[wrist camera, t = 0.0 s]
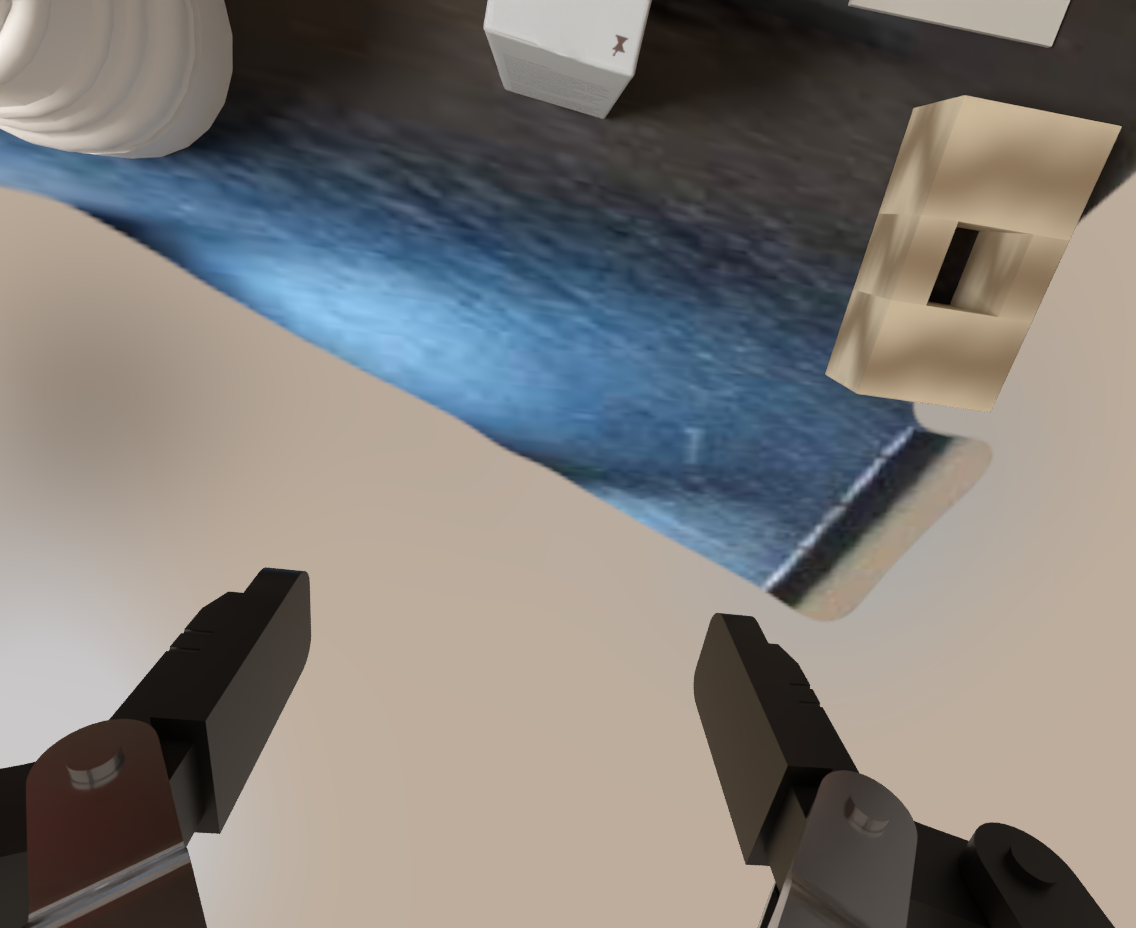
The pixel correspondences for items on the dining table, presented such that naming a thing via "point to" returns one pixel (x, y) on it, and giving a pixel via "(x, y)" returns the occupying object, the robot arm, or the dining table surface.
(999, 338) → the hole block
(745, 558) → the dining table surface
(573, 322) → the dining table surface
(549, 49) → the skincare box
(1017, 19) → the mat
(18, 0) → the honey pot
